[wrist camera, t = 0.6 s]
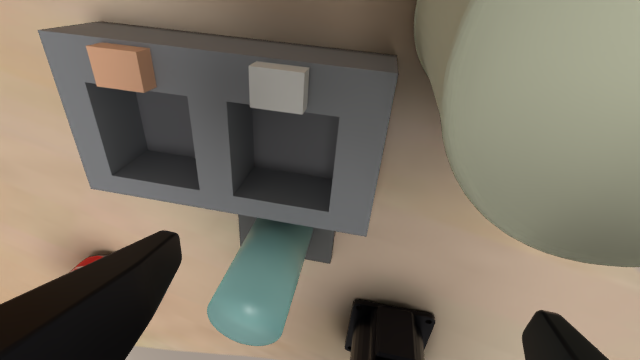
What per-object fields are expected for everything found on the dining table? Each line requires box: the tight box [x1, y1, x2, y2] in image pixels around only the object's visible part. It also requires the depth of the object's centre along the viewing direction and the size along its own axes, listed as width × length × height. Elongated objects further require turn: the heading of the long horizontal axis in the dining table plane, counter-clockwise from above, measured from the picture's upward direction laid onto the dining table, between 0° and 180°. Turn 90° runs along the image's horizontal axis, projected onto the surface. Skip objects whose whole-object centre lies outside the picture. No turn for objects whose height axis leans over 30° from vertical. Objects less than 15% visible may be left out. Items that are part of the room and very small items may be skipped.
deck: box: [238, 214, 335, 264], centre depth 24 cm, size 6×7×1 cm
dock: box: [38, 22, 398, 237], centre depth 19 cm, size 9×17×5 cm, turn 86°
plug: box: [207, 218, 313, 346], centre depth 20 cm, size 4×4×8 cm
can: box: [414, 0, 640, 267], centre depth 11 cm, size 9×9×12 cm
